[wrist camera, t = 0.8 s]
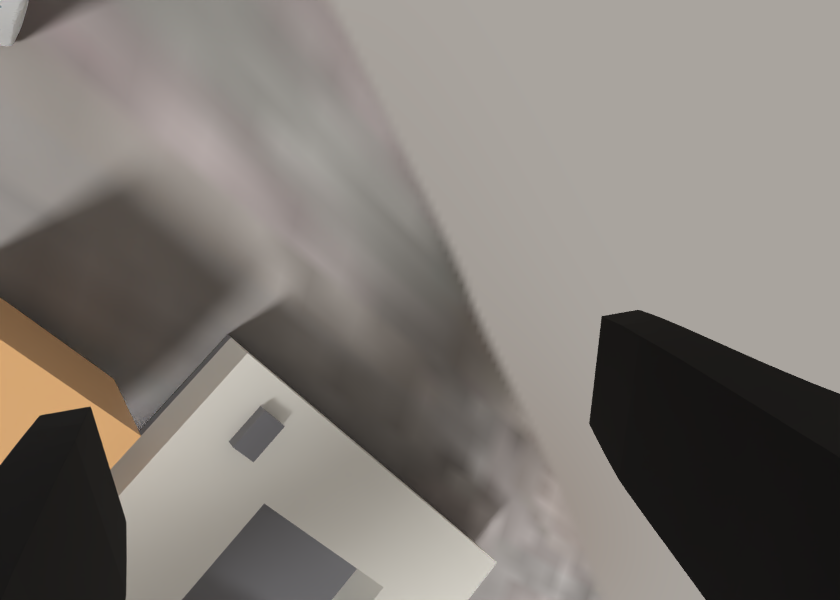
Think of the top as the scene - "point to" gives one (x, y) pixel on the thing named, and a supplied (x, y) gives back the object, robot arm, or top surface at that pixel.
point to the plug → (54, 386)
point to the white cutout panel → (275, 503)
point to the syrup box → (11, 20)
